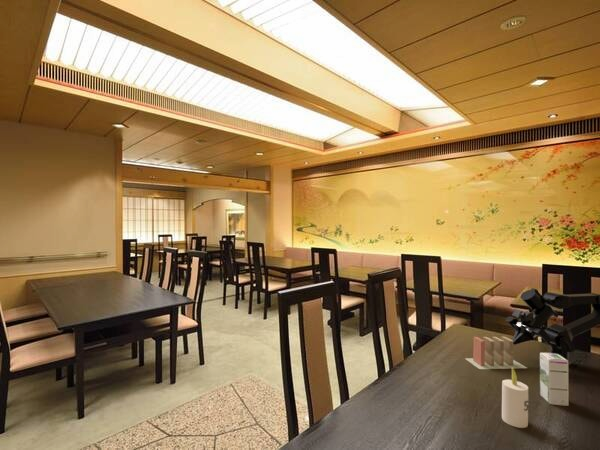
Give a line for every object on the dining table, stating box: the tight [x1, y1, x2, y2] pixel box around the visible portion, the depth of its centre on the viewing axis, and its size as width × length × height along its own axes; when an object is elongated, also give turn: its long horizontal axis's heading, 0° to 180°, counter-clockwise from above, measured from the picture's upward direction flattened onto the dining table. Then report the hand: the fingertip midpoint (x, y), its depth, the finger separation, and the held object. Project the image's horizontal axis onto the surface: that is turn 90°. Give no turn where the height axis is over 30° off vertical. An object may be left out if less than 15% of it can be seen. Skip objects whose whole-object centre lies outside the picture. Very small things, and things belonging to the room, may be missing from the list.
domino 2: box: [482, 336, 494, 366], centre depth 131 cm, size 2×5×10 cm, turn 4°
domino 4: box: [500, 336, 514, 366], centre depth 132 cm, size 2×5×10 cm, turn 4°
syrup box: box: [539, 352, 569, 407], centre depth 104 cm, size 6×6×14 cm
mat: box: [464, 357, 528, 370], centre depth 131 cm, size 20×10×1 cm, turn 94°
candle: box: [501, 368, 530, 429], centre depth 93 cm, size 6×6×15 cm
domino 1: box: [472, 336, 485, 366], centre depth 131 cm, size 2×5×10 cm, turn 4°
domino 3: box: [491, 336, 504, 366], centre depth 131 cm, size 2×5×10 cm, turn 4°
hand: (513, 343), depth 132 cm, fingers closed
